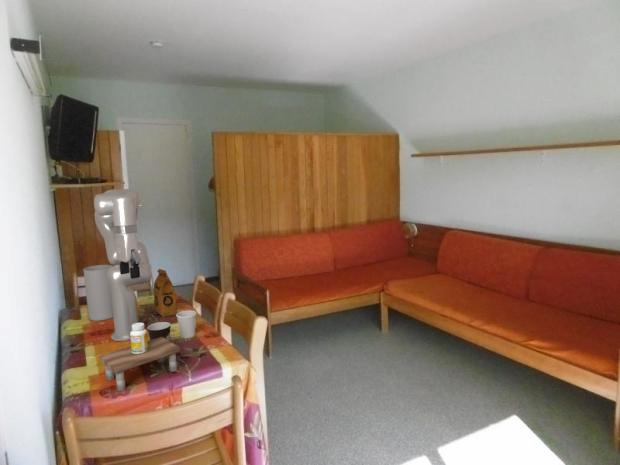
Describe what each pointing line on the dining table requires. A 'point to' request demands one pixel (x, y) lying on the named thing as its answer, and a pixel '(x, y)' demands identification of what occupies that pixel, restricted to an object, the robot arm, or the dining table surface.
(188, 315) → the dixie cup
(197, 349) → the dining table surface
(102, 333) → the dining table surface
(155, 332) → the coffee mug
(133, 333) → the supplement bottle
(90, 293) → the cylinder vase
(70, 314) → the dining table surface
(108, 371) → the small wooden riser
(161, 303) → the coffee package
